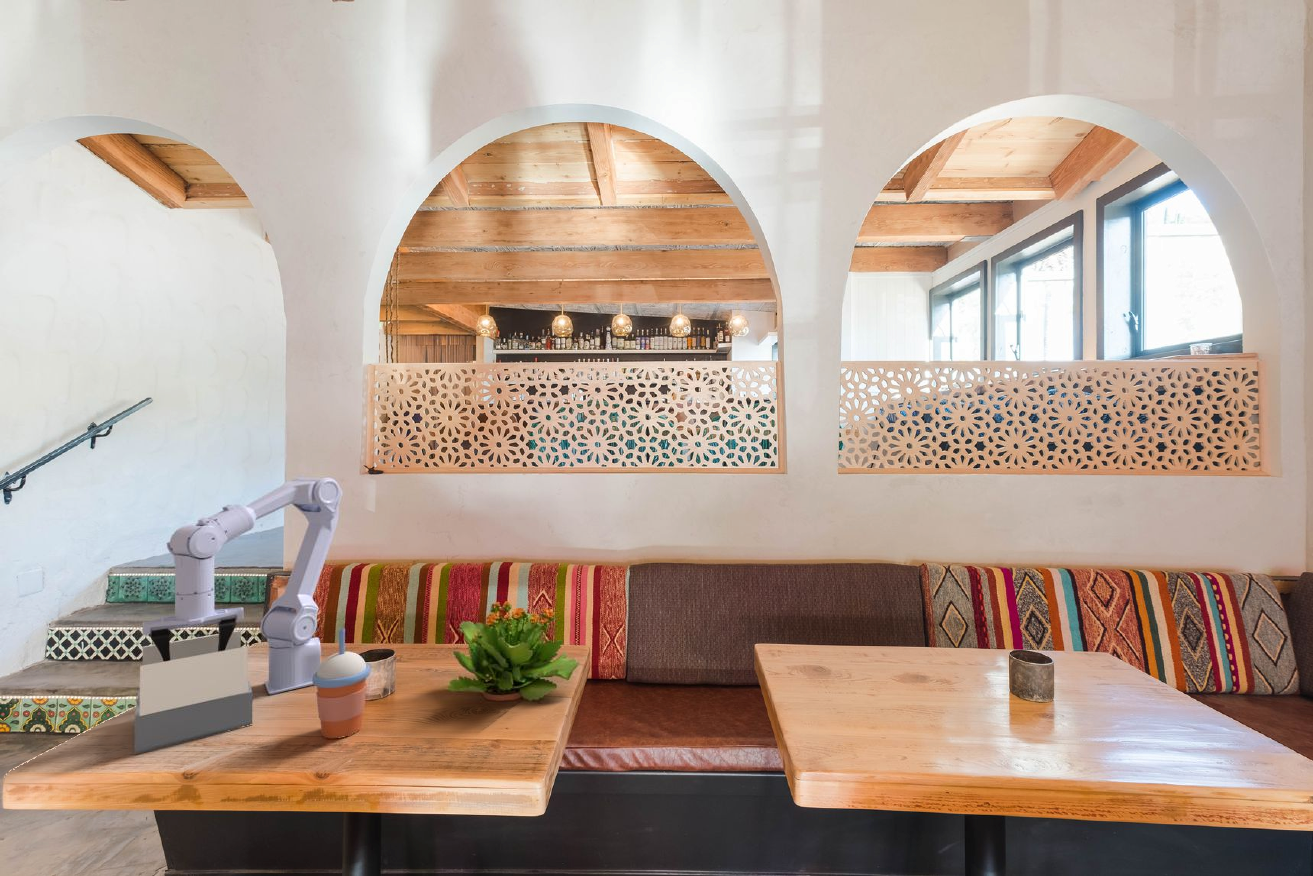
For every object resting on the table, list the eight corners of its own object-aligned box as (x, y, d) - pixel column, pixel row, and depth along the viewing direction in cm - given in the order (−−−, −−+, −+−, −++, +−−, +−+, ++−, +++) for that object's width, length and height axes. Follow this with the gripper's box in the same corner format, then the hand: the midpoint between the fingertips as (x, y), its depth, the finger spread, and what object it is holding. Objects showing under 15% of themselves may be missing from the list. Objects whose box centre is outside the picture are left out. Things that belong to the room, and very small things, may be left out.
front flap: (247, 646, 109) (247, 646, 108) (248, 691, 107) (248, 691, 107) (140, 666, 99) (140, 666, 99) (139, 716, 98) (139, 716, 97)
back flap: (240, 666, 119) (239, 665, 120) (241, 630, 118) (240, 630, 118) (142, 685, 110) (142, 685, 110) (142, 647, 108) (142, 646, 109)
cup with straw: (310, 749, 99) (310, 640, 99) (313, 726, 107) (313, 626, 107) (371, 736, 103) (371, 632, 103) (369, 715, 111) (369, 619, 111)
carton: (243, 696, 120) (243, 666, 120) (252, 725, 107) (252, 691, 107) (138, 720, 109) (138, 687, 110) (134, 755, 97) (134, 718, 97)
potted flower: (468, 733, 104) (468, 633, 104) (419, 691, 122) (419, 606, 122) (586, 693, 120) (585, 606, 121) (528, 661, 138) (528, 586, 138)
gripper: (142, 602, 101) (141, 682, 101) (245, 589, 110) (245, 662, 110) (143, 594, 106) (143, 670, 106) (241, 582, 116) (241, 652, 115)
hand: (194, 665), depth 108 cm, fingers open, 7 cm apart
